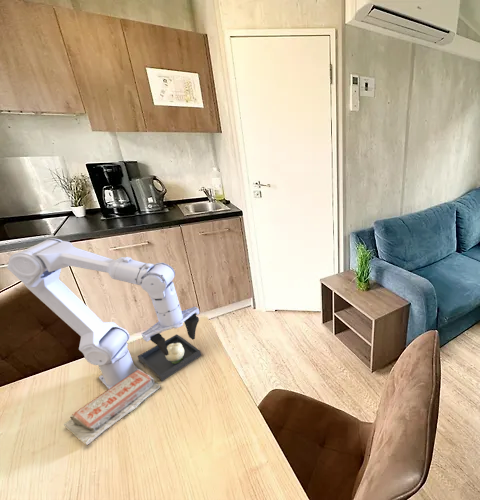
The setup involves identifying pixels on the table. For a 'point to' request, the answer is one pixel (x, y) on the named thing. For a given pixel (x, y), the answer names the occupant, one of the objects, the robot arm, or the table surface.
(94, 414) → the packaged product
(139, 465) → the table surface
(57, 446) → the table surface
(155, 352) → the tray
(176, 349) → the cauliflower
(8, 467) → the table surface
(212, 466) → the table surface
